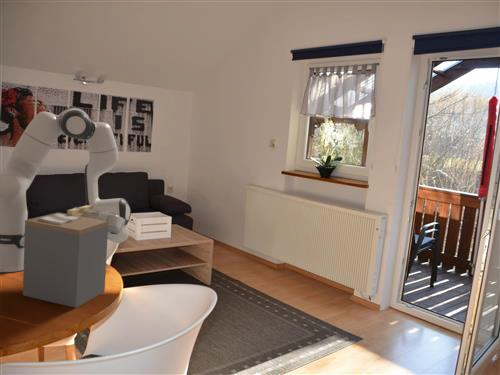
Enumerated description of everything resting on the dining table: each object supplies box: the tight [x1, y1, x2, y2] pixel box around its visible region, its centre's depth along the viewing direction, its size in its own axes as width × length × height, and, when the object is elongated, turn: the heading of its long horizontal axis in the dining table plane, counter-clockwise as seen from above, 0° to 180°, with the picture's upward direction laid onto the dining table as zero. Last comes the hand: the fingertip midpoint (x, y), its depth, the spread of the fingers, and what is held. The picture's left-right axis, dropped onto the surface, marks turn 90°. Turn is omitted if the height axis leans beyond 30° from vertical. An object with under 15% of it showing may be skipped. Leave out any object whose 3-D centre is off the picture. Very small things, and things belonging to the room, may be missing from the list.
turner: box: [38, 204, 93, 225], centre depth 162 cm, size 22×9×2 cm, turn 164°
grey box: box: [22, 211, 108, 309], centre depth 159 cm, size 21×16×26 cm
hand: (86, 211), depth 170 cm, fingers open, 8 cm apart
